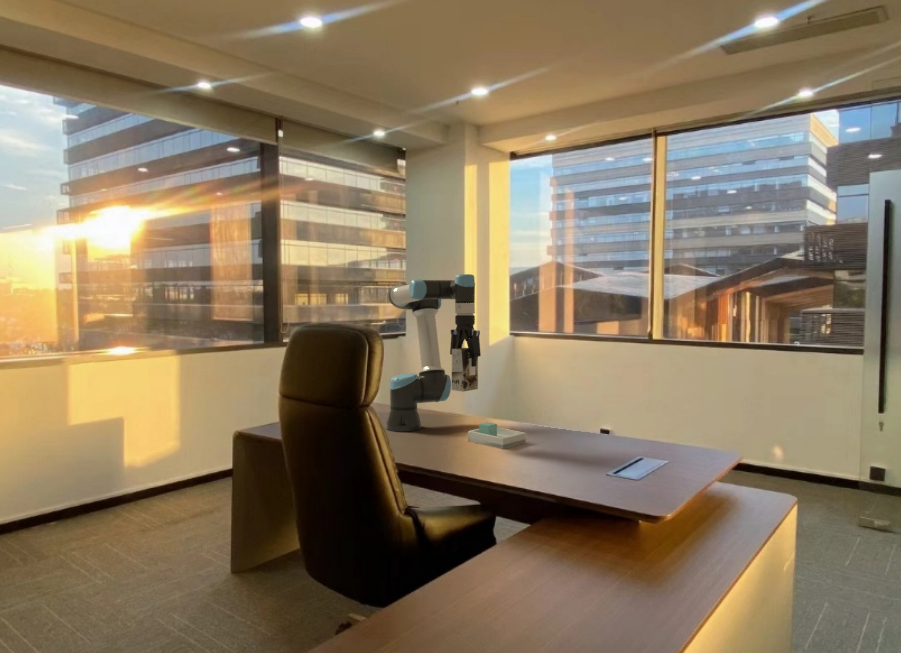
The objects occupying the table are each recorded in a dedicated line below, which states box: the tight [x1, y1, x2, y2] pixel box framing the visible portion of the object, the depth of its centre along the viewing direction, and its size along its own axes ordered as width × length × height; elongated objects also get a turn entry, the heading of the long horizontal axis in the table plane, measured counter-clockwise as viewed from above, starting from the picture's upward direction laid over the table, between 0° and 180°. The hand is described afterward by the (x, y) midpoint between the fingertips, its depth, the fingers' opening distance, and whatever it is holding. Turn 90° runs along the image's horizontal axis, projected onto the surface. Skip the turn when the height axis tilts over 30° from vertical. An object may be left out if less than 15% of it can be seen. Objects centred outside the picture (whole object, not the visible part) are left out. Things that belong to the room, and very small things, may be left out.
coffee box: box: [451, 347, 479, 393], centre depth 241 cm, size 9×6×16 cm
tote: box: [467, 426, 527, 450], centre depth 246 cm, size 18×14×4 cm
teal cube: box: [478, 421, 498, 436], centre depth 250 cm, size 5×5×5 cm
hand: (465, 374), depth 241 cm, fingers closed on coffee box, 7 cm apart
